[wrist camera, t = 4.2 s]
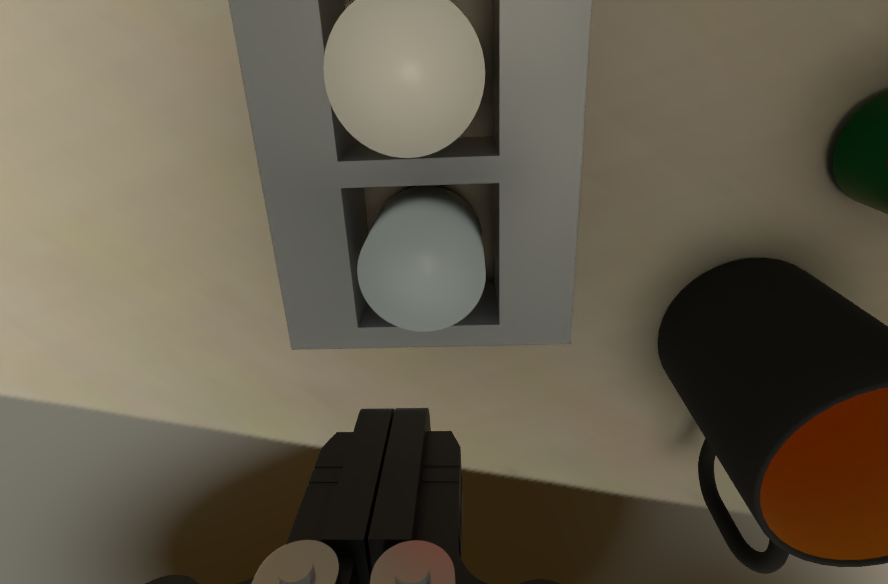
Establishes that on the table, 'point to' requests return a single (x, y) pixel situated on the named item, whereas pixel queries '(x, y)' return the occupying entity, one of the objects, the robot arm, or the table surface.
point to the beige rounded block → (404, 74)
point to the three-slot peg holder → (420, 175)
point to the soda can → (865, 155)
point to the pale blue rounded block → (423, 260)
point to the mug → (786, 409)
